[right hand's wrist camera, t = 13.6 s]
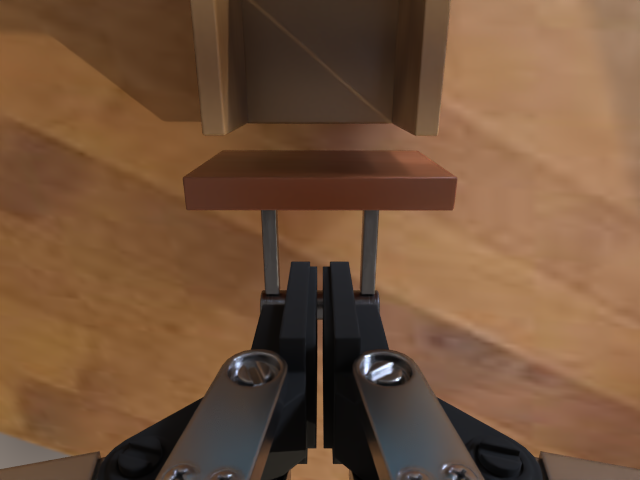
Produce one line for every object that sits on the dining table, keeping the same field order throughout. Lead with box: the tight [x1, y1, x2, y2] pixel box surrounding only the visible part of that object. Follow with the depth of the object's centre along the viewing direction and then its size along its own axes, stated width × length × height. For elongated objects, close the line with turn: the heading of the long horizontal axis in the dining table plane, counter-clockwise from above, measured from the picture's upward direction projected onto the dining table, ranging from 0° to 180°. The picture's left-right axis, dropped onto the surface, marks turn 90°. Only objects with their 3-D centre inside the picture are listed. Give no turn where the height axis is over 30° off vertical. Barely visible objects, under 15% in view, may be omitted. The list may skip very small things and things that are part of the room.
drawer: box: [183, 0, 457, 320], centre depth 15 cm, size 25×10×6 cm, turn 0°
